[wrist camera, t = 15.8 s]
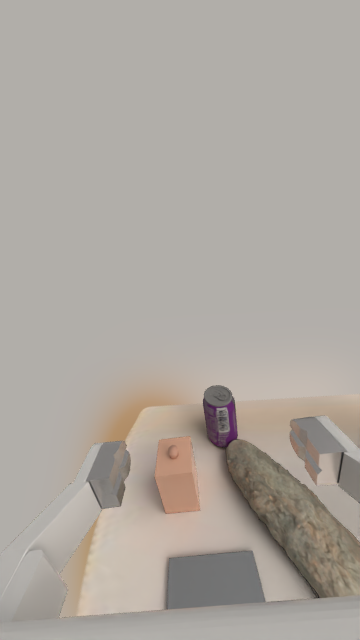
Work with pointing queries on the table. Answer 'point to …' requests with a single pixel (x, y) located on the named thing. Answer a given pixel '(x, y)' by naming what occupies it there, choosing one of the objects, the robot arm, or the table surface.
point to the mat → (213, 580)
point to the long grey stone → (297, 521)
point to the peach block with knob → (177, 475)
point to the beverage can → (220, 415)
